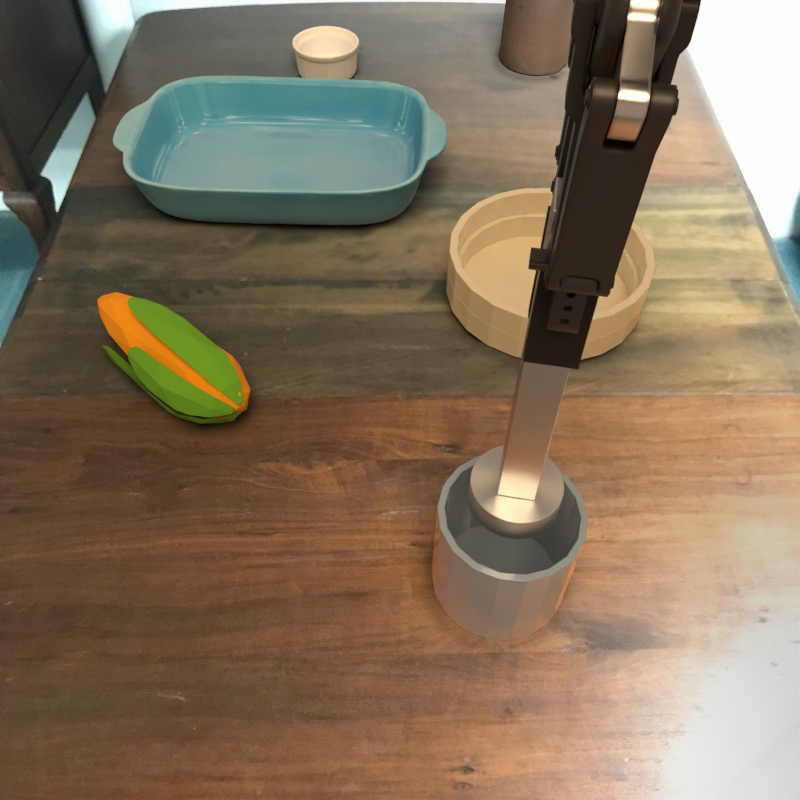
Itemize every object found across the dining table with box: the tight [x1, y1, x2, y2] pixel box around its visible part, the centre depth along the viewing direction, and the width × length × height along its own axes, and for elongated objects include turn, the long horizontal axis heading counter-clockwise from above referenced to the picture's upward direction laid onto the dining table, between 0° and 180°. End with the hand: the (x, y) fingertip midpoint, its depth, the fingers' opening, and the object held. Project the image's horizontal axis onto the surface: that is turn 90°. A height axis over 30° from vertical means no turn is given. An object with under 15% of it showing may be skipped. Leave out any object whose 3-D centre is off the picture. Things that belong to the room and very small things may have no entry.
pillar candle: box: [498, 0, 574, 76], centre depth 106 cm, size 10×10×15 cm
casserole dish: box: [112, 75, 448, 226], centre depth 90 cm, size 37×22×7 cm, turn 87°
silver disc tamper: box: [468, 177, 572, 539], centre depth 43 cm, size 6×6×24 cm
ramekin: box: [291, 25, 360, 79], centre depth 107 cm, size 9×9×4 cm
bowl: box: [445, 187, 656, 361], centre depth 79 cm, size 20×20×6 cm
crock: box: [431, 454, 589, 641], centre depth 57 cm, size 10×10×10 cm
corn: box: [96, 291, 252, 425], centre depth 71 cm, size 7×8×20 cm
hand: (552, 336), depth 40 cm, fingers closed on silver disc tamper, 2 cm apart
